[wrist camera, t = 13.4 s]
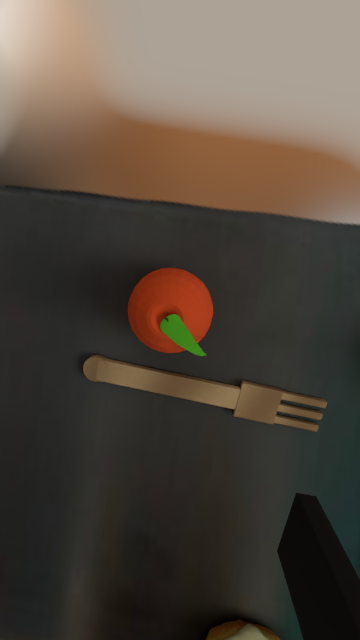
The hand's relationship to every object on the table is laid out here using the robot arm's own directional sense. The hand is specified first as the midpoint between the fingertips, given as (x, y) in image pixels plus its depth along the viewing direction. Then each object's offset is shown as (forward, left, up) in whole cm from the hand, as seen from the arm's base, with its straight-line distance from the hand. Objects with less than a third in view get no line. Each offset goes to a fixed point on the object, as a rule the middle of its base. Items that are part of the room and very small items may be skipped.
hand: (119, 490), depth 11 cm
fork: (+5, -4, -18) cm, 19 cm away
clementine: (0, +4, -18) cm, 19 cm away
